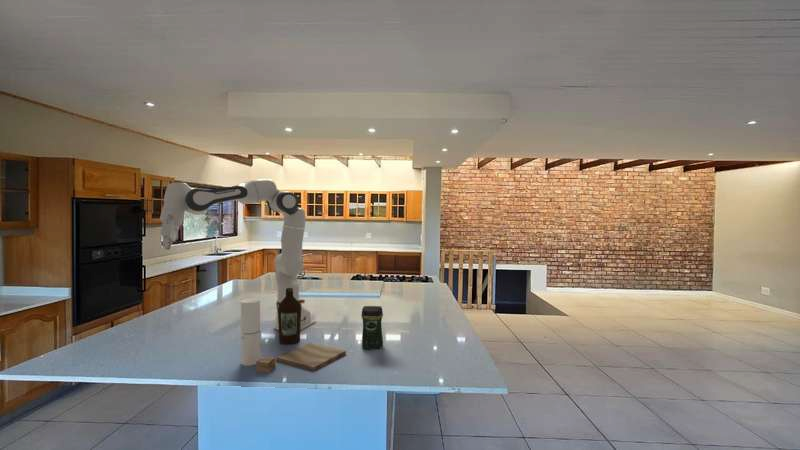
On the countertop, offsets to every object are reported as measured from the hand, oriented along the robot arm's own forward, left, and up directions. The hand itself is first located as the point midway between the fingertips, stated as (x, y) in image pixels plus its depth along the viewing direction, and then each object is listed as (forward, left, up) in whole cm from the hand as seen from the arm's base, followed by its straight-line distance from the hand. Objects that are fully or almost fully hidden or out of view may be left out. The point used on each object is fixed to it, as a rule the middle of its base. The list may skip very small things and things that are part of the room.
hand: (166, 248), depth 165 cm
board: (-25, +60, -45) cm, 79 cm away
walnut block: (-7, +53, -45) cm, 70 cm away
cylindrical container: (-9, +42, -45) cm, 62 cm away
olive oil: (-35, +37, -45) cm, 68 cm away
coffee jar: (-48, +75, -45) cm, 100 cm away
